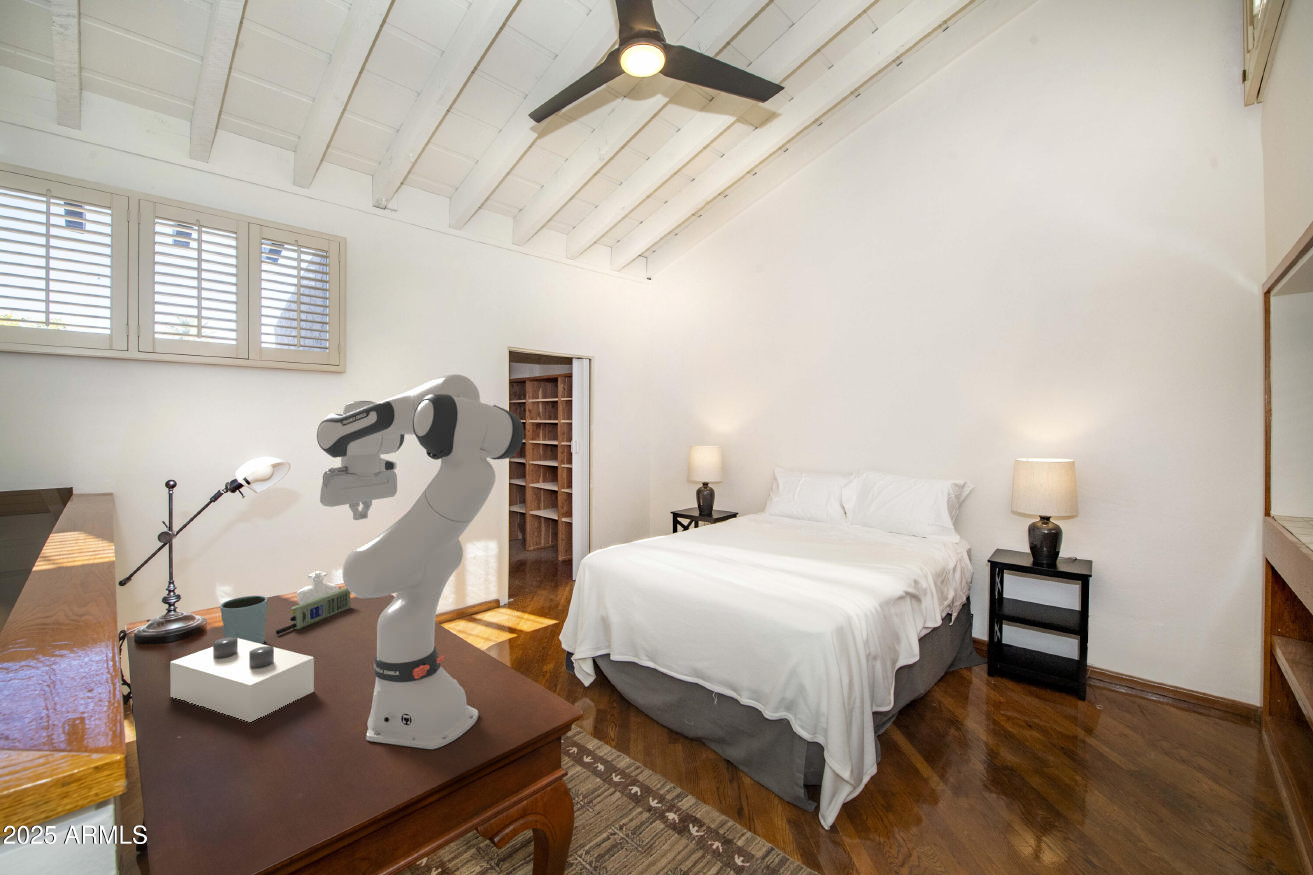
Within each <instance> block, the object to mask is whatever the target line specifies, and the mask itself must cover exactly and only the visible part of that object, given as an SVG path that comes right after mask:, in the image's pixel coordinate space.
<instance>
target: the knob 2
mask: <svg viewBox="0 0 1313 875" xmlns="http://www.w3.org/2000/svg"><path fill="white" fill-rule="evenodd" d="M273 647H274V646H270V645H267V646H264V647H259V648H255V649H253V650H251V651H250V652H249V667H250V668H259V669H260V668H262V667H266V666H269V665H271V664H272V663H273V662H274V648H273Z"/></svg>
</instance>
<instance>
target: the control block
mask: <svg viewBox="0 0 1313 875" xmlns="http://www.w3.org/2000/svg"><path fill="white" fill-rule="evenodd" d="M237 639H238V652H237V653H236V654H235V655H233V656H230V657H226V658H214V657H213V646H211V647H209V648H206V649H205V648H204V649H203V650H199V651H197V652H194V653H191V654H188V655H185V656H183V657H180V658H177V659H175V660H172V661H169V662H170V663H169V664H170V666H169V667H170V668H169V669H170V670H169V672H170V673H169V674H170V680H169V681H170V686H169V687H170V698H172V697H173V698H172V699H175V698H177V699H176V700H178V699H181V700H185V701H187V702H189V703H188V704H191V703H193V704H192V705H194V704H196V705H195V706H197V705H199V706H198V707H200V706H204V707H206V708H209V709H212V710H215V711H217V712H216V713H218V712H220V713H219V714H221V713H224V714H226V715H225V716H227V715H230V716H233V717H236V718H239V719H238V720H240V719H242V720H241V721H243V720H245V721H244V722H246V721H248V722H247V723H249V722H252V721H254V720H256V719H258V718H260V717H262V718H263V716H264V717H266V716H267V714H268V715H270V714H272V713H274V712H275V710H276V711H277V710H280V709H281V707H282V708H284V707H285V705H286V706H287V704H288V705H289V703H290V704H291V703H293V701H294V702H296V701H297V699H298V700H300V699H301V698H304V697H305V696H307V695H310V694H312V693H313V692H315V657H313V656H312V655H311V656H310V655H306V654H302V653H297V652H294V651H290V650H286V649H282V648H278V647H274V646H272V647H273V648H274V662H273V663H272V664H271V665H269V666H266V667H262V668H260V669H259V668H250V667H249V652H250V651H251V650H253V649H255V648H259V647H264V646H268V645H266V644H264V643H263V644H259V643H255V642H251V641H247V640H243V639H239V638H237ZM181 700H180V701H181ZM295 700H296V701H295ZM187 702H186V703H187ZM283 706H284V707H283ZM206 708H205V709H206ZM279 708H280V709H279ZM209 709H208V710H209ZM212 710H211V711H212ZM215 711H214V712H215ZM273 711H274V712H273ZM271 712H272V713H271ZM269 713H270V714H269ZM224 714H223V715H224ZM265 715H266V716H265ZM230 716H229V717H230ZM233 717H232V718H233ZM236 718H235V719H236ZM260 719H261V718H260ZM258 720H259V719H258ZM256 721H257V720H256ZM254 722H255V721H254ZM252 723H253V722H252Z"/></svg>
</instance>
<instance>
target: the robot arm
mask: <svg viewBox="0 0 1313 875" xmlns="http://www.w3.org/2000/svg"><path fill="white" fill-rule="evenodd" d="M524 432H525V431H524V425H523V422H522V421H521V419H520V418H519V417H518V416H517V415H516V414H514V413H513V412H511V411H509V410H507V409H506V408H504V407H500V406H498V405H496V404H493V405H492V404H488V403H484V402H481V396H480V391H479V388H478V386H477V385H476V384H475V383H474V381H473V380H471V379H470V378H469V377H467V376H465V375H462V374H459V373H458V374H448V375H443V376H439V377H436V378H434V379H430V380H429V381H427V382H426V381H425V382H424V383H422V384H421V385H418V386H416V387H414V388H413V389H410V390H408V391H406V392H403V393H401V394H398V395H395V396H392V397H390V398H388V399H384V400H382V401H379V402H375V401H372V400H371V401H370V400H353V401H349V402H348V403H346V404H344V407H343V412H342V414H341V413H330V414H329V415H328V416H326V417H325V418H324V419H323V420H322V421H321V422H320V423H319V425H318V427H317V431H316V440H317V444H318V446H319V447H320V449H321V450H322V451H323V452H325V453H326V454H327V455H328V456H330V457H332V458H334V459H335V458H340V466H338V467H330V468H328V469H327V470H325V471H324V473H322V482H321V483H322V484H321V488H320V496H319V502H320V504H321V505H322V506H324V507H330V508H334V507H339V506H345V505H348V508H349V509H350V511H351V513H352V519H353V520H354V521H360V520H366V519H368V518H369V511H370V509H371V507H372V506H373V501H376V500H383V499H389V498H394V497H395V496H396V495H397V493H398V477H397V476H398V475H397V473H396V470H397V467H398V466H397V462H396V461H392V460H389V459H386V458H383V457H381V455H390V454H393V453H394V454H395V453H396V452H398V451H399V450H400V448H401V447H402V446H403V445H404V442H405V435H409V436H411V435H414V436H415V437H416V439H417V442H418V443H419V445H420V446H421V447H422V448H423V449H424V450H425V451H426V455H427V457H428V458H431V459H432V460H433V461H434V460H435V461H437V460H440V461H441V462H440V466H439V469H438V471H437V473H436V474H435V476H434V477H433V478H432V479H431V480H430V482H429V483H428V485H426V487H425V489H424V490H423V492H421V494H420V496H419V497H418V498H417V499H416V501H415V502H414V503H413V505H412V506H411V507H410V509H409V510H408V511H407V512H406V513H405V514H404V515H403V516H402V517H400V518H399V519H398V520H397V521H396V522H394V523H393V524H392V525H390V526H389V527H388V528H386V529H385V530H384V531H383V532H381V533H380V534H379V535H377V536H376V537H375V538H374V539H372V540H370V541H369V542H368V543H366V544H363V545H361V546H360V547H358V548H357V549H354V550H352V551H351V552H349V554H348V555H347V556H346V558H345V560H344V563H343V566H342V580H343V583H344V586H345V588H347V589H348V590H349V591H350V594H352V595H353V596H355V597H356V598H359V599H367V598H368V599H369V598H379V597H380V598H381V597H387V596H390V595H393V594H395V596H394V598H393V599H392V601H391V602H390V603H389V605H387V606H386V608H384V609H383V611H382V612H381V614H380V615H379V617H378V620H377V623H376V634H377V635H376V654H375V655H374V663H373V668H374V670H373V671H374V676H375V683H374V684H375V685H374V688H373V689H374V690H373V694H372V703H371V709H370V713H369V717H368V720H367V721H366V722H367V724H366V726H367V731H366V736H365V740H366V741H369V742H375V743H382V744H389V745H396V746H404V747H412V748H417V749H425V750H426V749H427V750H434V749H435V750H436V749H438V748H441V747H443V746H446V745H448V744H449V743H451V742H453V741H455V740H456V739H458V738H459V737H461V736H462V735H463V734H465V733H466V732H467V731H468V730H469V729H471V727H472V726H474V725H475V724H476V722H477V720H478V718H479V711H478V709H476V708H474V707H472V706H470V705H468V704H467V696H466V695H467V694H466V692H465V689H464V688H463V687H462V686H461V685H460V684H459V681H458V680H457V679H454V678H453V677H452V676H451V675H450V674H449V673H448V672H447V671H446V670H445V669H444V668H443V667H442V663H441V662H443V661H445V658H444V657H445V654H442V655H441V656H439V654H438V651H437V647H436V645H435V633H436V632H435V630H436V629H435V627H436V616H437V611H438V606H439V602H440V599H441V597H442V594H443V592H444V589H445V587H446V585H447V583H448V581H449V580H450V578H451V577H452V575H453V574H454V573H455V571H456V570H457V569H458V568H459V567H460V566H461V563H462V561H463V556H464V555H463V554H464V550H463V546H462V543H461V540H460V537H461V536H462V534H464V532H465V531H466V530H467V528H468V527H469V526H470V525H471V523H472V522H473V521H474V520H475V518H476V516H478V514H479V512H481V510H482V508H483V507H484V505H485V504H486V501H487V500H488V498H489V496H490V494H491V492H492V490H493V488H494V486H495V483H496V479H497V478H496V471H495V469H494V467H493V465H492V464H491V462H490V461H489V460H488V459H491V460H506V459H510V458H512V457H514V456H515V455H517V453H518V451H519V450H520V448H521V446H522V445H523V442H524V436H525V435H524V434H525V433H524ZM361 505H362V506H361ZM360 507H361V510H360V509H359V508H360Z"/></svg>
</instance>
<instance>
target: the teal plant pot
mask: <svg viewBox="0 0 1313 875" xmlns="http://www.w3.org/2000/svg"><path fill="white" fill-rule="evenodd" d="M267 606H268V598H267V597H266V596H263V595H246V596H240V597H236V598H232V599H229V600H226V601H224V602H223V603H221V604H220V606H219V608H220V613H221V614H220V615H221V621H222V624H223V625H222V630H223V635H224V638H228V637H235V638H239V639H243V640H247V641H251V642H255V643H259V644H263V645H264V643H265V640H266V639H265V638H266V629H265V628H266V621H267V618H266V615H267Z"/></svg>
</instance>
